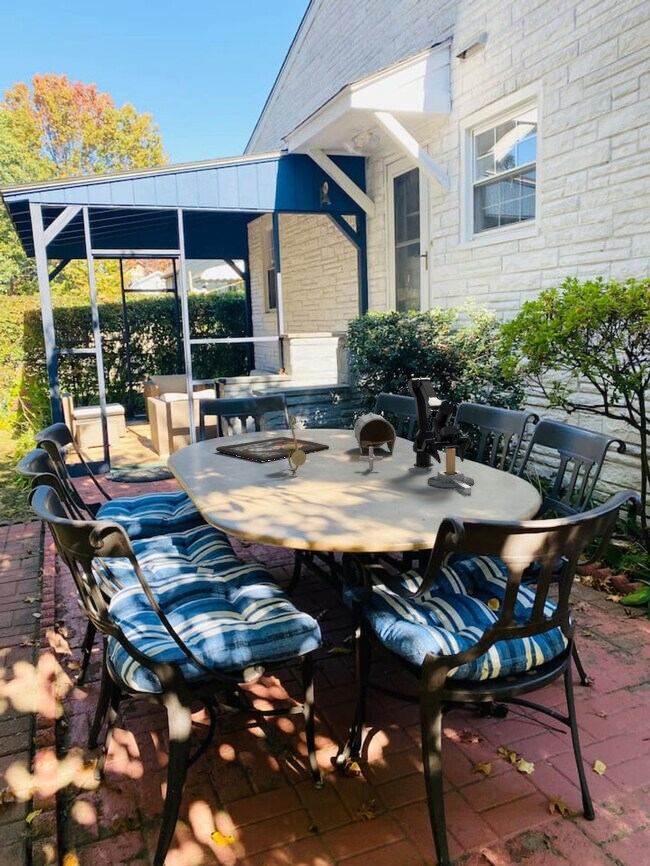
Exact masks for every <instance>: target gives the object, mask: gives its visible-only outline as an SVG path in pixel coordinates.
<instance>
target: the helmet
mask: <svg viewBox="0 0 650 866" xmlns="http://www.w3.org/2000/svg"><path fill="white" fill-rule="evenodd" d="M354 438H355V439H356V441H357V444H358V445H357V446H358V448H359V452H360V455H363V449H368V450H369V447H373V448H374V449H378V448H380V447H382V446H384V445H385V444H386V446H387V448H388V450H389V453H391V452H392V453H394V449H395V443H396V440H397V434H396V429H395V427H394V426H393V424H392V423H391V422H389V421H388V420H387V419H385V418H384V417H383V416H382V415H378V414H376V413H373V412H369V413H367V414H365V415H362V416H360V417H358V419H357V420H356V422H355V423H354ZM392 453H391V454H392Z"/></svg>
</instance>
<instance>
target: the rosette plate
mask: <svg viewBox="0 0 650 866" xmlns="http://www.w3.org/2000/svg"><path fill="white" fill-rule="evenodd" d="M436 474H437V475H434V476H431V477H429V478H428V479H427V484H428V485H429V486H431V487H435V488H440V489H454V488H456V490H458V491H459V492H460V493H462V494H463V495H472V486H473V485H474V484H475V480H474V478H471V477H470V476H466V475H465V474H464V473H462V472H461V471H459V470H457V469H455V474H450V475H446V470H438V471H437V473H436ZM471 485H472V486H471Z"/></svg>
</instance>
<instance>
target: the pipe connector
mask: <svg viewBox="0 0 650 866" xmlns="http://www.w3.org/2000/svg"><path fill="white" fill-rule="evenodd" d="M359 461H367V463H369V466H368V468H369V471H373V470H374V461H384V457H383V456H382V455H381V456H379V455H376V456H375V454H374V449H373V447H369V449H368V455H365V456H363V455H359Z"/></svg>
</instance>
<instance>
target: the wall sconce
mask: <svg viewBox="0 0 650 866" xmlns="http://www.w3.org/2000/svg"><path fill="white" fill-rule="evenodd" d="M289 419H290V420H289V422H290V423H289V424H290V429H291V433H292V437H293V438H294V442H295V444H289V445H283V446H281V448H283V449H289V451H288V458H287V459H288V460H287V462H288V465H289V468H290V469H291V470H292V471H293V470H294V471H293V472H296V471H297V470H298V468H299V467H300V466H303V465H304V464H305V463H306V461H307V454H305V453H304V452H303V451H300V450H298V448H301V447H302V445H298V444H297V441H296V439H297V437H296V435H295V434H296V433H295V431H294V426H293V425H295V426H296V424H297V417H296V416H295V415H294V414H293V415H291V416H290V418H289ZM293 449H296V452H295V451H294V450H293ZM290 452H291V456H292V457H290ZM292 452H293V454H292ZM292 463H293V465H295V468H294V467H293V465H292Z"/></svg>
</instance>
